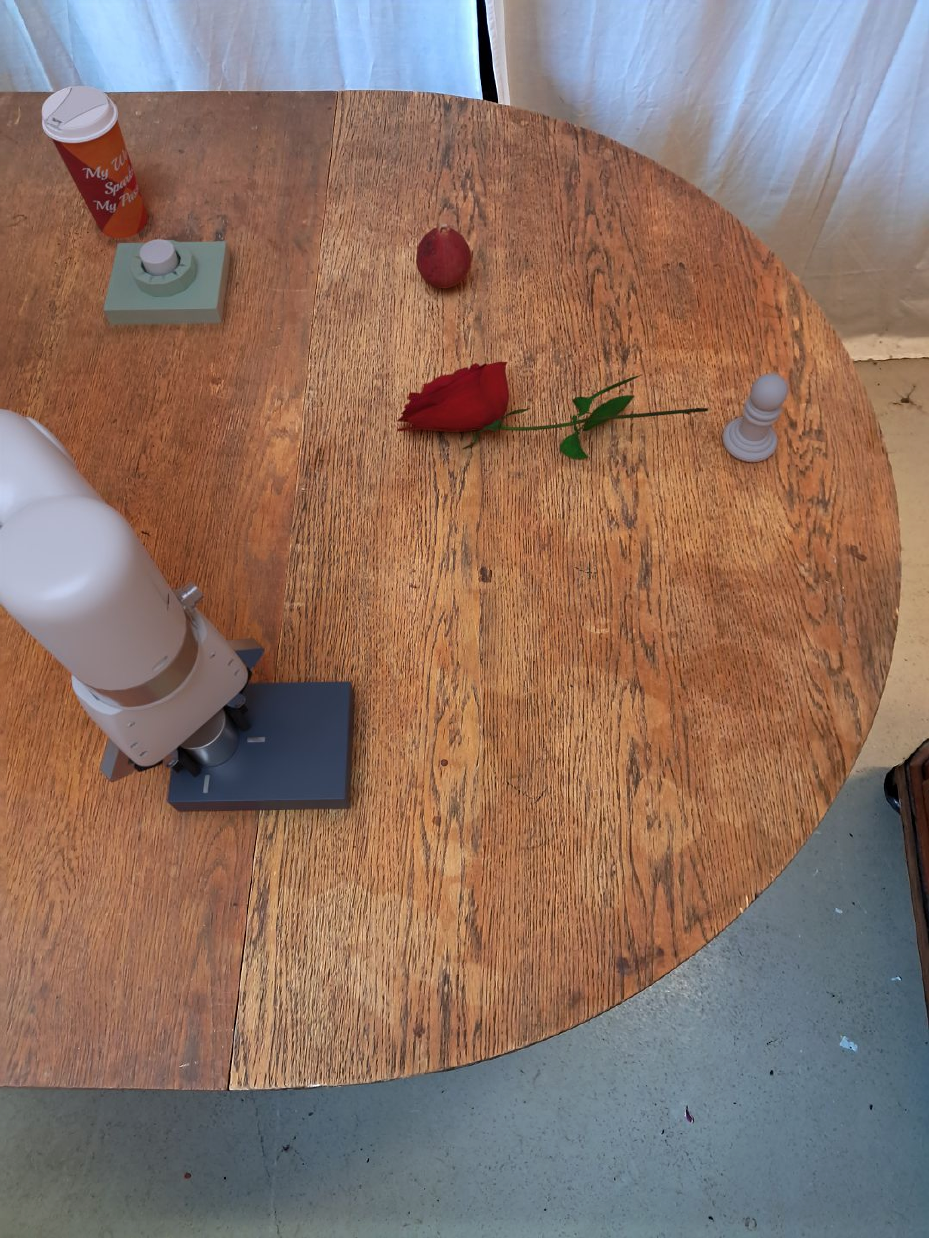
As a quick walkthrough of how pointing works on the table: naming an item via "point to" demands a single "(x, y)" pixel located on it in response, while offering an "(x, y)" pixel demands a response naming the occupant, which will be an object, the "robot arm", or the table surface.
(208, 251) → the push button box
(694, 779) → the table surface
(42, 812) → the table surface
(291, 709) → the dial panel
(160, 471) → the table surface
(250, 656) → the robot arm
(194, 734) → the dial
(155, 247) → the white push button
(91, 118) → the paper cup
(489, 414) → the flower
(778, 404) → the chess piece
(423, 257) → the red round fruit
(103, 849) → the table surface
